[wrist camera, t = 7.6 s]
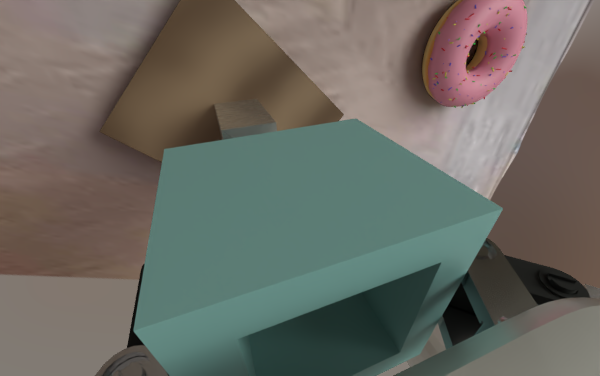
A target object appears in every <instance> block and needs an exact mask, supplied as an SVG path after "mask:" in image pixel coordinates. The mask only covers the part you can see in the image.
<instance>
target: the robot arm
mask: <svg viewBox="0 0 600 376" xmlns="http://www.w3.org/2000/svg"><path fill="white" fill-rule="evenodd" d="M144 265H145V264H144ZM144 265H143V266H142V269H141V273H140V279H139V284H138V290H137V295H136V301H135V307H134V313H133V318H132V324H131V329H130V334H129V340H128V345H127V348H126V349H124V350H122V351H120V352H119V353H117V354H115V355H114V356H113V357H111V358H110V359H109V360H108V361H107V362H106V363H105V364H104V365H103V366H102V367H101V369H100V370H99V371H98V372H97V374H96V375H95V376H169V374H168V373H167V372H166V371H165V369H164V368H163V367H162V366H161V365H160V363H159V362H158V361H157V360H156V358H155V357H154V356H153V355H152V353H151V352H150V351H149V350H148V349H147V347H146V346H145V345H144V344H143V342H142V341H141V340H140V339H139V337H138V336H137V335H136V334H135V333H134V331H133V330H134V324H135V318H136V312H137V306H138V300H139V295H140V289H141V283H142V277H143V271H144ZM407 363H408V364H409V366H410V368H408V369H406V370H404V371H402V372H400V373H398V374H396V375H394V376H600V289H599V288H596V287H592V286H589V285H586V284H585V285H584V286H583V285H582V284H581V283H580V282H579V281H577V280H576V279H574V278H573V277H571V276H570V275H568V274H566V273H564V272H562V271H560V270H557V269H554V268H550V267H547V266H543V265H539V264H536V263H531V262H528V261H524V260H521V259H516V258H513V257H509V256H506V255H503V253H502V252H501V250H500V249H499V248H498V247H497V246H496V244H495V243H493V242H492V241H491V240H489V239H488V238H486V239H485V241H484V243H483V245H482V246H481V248H480V250H479V252H478V253H477V255H476V257H475V259H474V260H473V262H472V264H471V266H470V267H469V269H468V271H467V273H466V274H465V276H464V278H463V280H462V281H461V283H460V285H459V287H458V288H457V290H456V292H455V294H454V295H453V297H452V299H451V301H450V302H449V304H448V306H447V308H446V309H445V311H444V313H443V315H442V316H441V318H440V320H439V322H438V323H437V325H436V327H435V329H434V330H433V332H432V334H431V336H430V337H429V339H428V341H427V343H426V345H425V346H424V348H423V350H422V352H421V353H420V354H419V355H417V356H415V357H413V358H411V359H409V360H407Z"/></svg>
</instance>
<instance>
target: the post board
mask: <svg viewBox="0 0 600 376" xmlns="http://www.w3.org/2000/svg"><path fill="white" fill-rule="evenodd" d="M343 115H344V114H343V113H342V112H341V111H340V110H339V109H338V108H337V107H336V106H335V105H334V104H333V103H332V102H331V101H330V99H329V98H328V97H327V96H326V95H325V94H324V93H323V92H322V91H321V90H320V89H319V88H318V87H317V86H316V85H315V84H314V83H313V82H312V81H311V80H310V79H309V78H308V76H307V75H306V74H305V73H304V72H303V71H302V70H301V69H300V68H299V67H298V66H297V65H296V64H295V63H294V62H293V61H292V60H291V59H290V58H289V57H288V56H287V55H286V54H285V52H284V51H283V50H282V49H281V48H280V47H279V46H278V45H277V44H276V43H275V42H274V41H273V40H272V39H271V38H270V37H269V36H268V35H267V34H266V33H265V32H264V31H263V29H262V28H261V27H260V26H259V25H258V24H257V23H256V22H255V21H254V20H253V19H252V18H251V17H250V16H249V15H248V14H247V13H246V12H245V11H244V10H243V9H242V8H241V6H240V5H239V4H238V3H237V2H236V1H235V0H180V2H179V3H178V5H177V6H176V8H175V10H174V11H173V13H172V15H171V16H170V18H169V19H168V21H167V23H166V24H165V26H164V28H163V29H162V31H161V32H160V34H159V36H158V37H157V39H156V41H155V42H154V44H153V45H152V47H151V49H150V50H149V52H148V54H147V55H146V57H145V58H144V60H143V62H142V63H141V65H140V67H139V68H138V70H137V72H136V73H135V75H134V76H133V78H132V80H131V81H130V83H129V85H128V86H127V88H126V89H125V91H124V93H123V94H122V96H121V98H120V99H119V101H118V102H117V104H116V106H115V107H114V109H113V111H112V112H111V114H110V115H109V117H108V119H107V120H106V122H105V124H104V125H103V127H102V128H101V130H100V132H101V133H103V134H105V135H107V136H109V137H111V138H113V139H115V140H117V141H119V142H121V143H123V144H125V145H127V146H129V147H131V148H133V149H135V150H137V151H140V152H142V153H144V154H146V155H148V156H150V157H152V158H154V159H156V160H158V161H160V162H162V160H163V154H164V149H168V148H174V147H181V146H187V145H193V144H200V143H206V142H212V141H218V140H225V139H231V138H237V137H243V136H250V135H256V134H262V133H269V132H275V131H281V130H287V129H294V128H300V127H306V126H312V125H319V124H325V123H331V122H337V121H339V120H340V119H341V118H342V116H343Z"/></svg>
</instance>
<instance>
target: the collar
mask: <svg viewBox="0 0 600 376" xmlns="http://www.w3.org/2000/svg"><path fill="white" fill-rule="evenodd" d="M502 210H503V208H501V207H500V206H498V205H497V204H495V203H493V202H492V201H490V200H488V199H487V198H485V197H483V196H482V195H480V194H479V193H477V192H475V191H474V190H472V189H470V188H469V187H467V186H465V185H464V184H462V183H461V182H459V181H457V180H456V179H454V178H452V177H451V176H449V175H447V174H446V173H444V172H443V171H441V170H439V169H438V168H436V167H434V166H433V165H431V164H429V163H428V162H426V161H425V160H423V159H421V158H420V157H418V156H416V155H415V154H413V153H412V152H410V151H408V150H407V149H405V148H403V147H402V146H400V145H398V144H397V143H395V142H394V141H392V140H390V139H389V138H387V137H385V136H384V135H382V134H380V133H379V132H377V131H376V130H374V129H372V128H371V127H369V126H367V125H366V124H364V123H362V122H361V121H359V120H358V119H350V120H344V121H337V122H331V123H325V124H319V125H312V126H306V127H300V128H294V129H287V130H281V131H275V132H269V133H262V134H256V135H250V136H243V137H237V138H231V139H225V140H218V141H212V142H206V143H200V144H193V145H187V146H181V147H174V148H168V149H164V154H163V160H162V166H161V171H160V177H159V183H158V189H157V195H156V201H155V207H154V212H153V218H152V224H151V230H150V236H149V242H148V248H147V253H146V259H145V265H144V271H143V277H142V283H141V289H140V295H139V300H138V306H137V312H136V318H135V324H134V330H133V331H134V333H135V334H136V335H137V336H138V337H139V339H140V340H141V341H142V342H143V344H144V345H145V346H146V347H147V349H148V350H149V351H150V352H151V353H152V355H153V356H154V357H155V358H156V360H157V361H158V362H159V363H160V365H161V366H162V367H163V368H164V369H165V371H166V372H167V373H168V374H169V376H377V375H379V374H381V373H383V372H385V371H387V370H389V369H391V368H393V367H395V366H397V365H399V364H401V363H403V362H405V361H407V360H409V359H411V358H413V357H415V356H417V355H419V354H420V353H421V352H422V350H423V348H424V346H425V345H426V343H427V341H428V339H429V337H430V336H431V334H432V332H433V330H434V329H435V327H436V325H437V323H438V322H439V320H440V318H441V316H442V315H443V313H444V311H445V309H446V308H447V306H448V304H449V302H450V301H451V299H452V297H453V295H454V294H455V292H456V290H457V288H458V287H459V285H460V283H461V281H462V280H463V278H464V276H465V274H466V273H467V271H468V269H469V267H470V266H471V264H472V262H473V260H474V259H475V257H476V255H477V253H478V252H479V250H480V248H481V246H482V245H483V243H484V241H485V239H486V238H487V236H488V234H489V232H490V231H491V229H492V227H493V225H494V224H495V222H496V220H497V218H498V216H499V215H500V213H501V211H502Z"/></svg>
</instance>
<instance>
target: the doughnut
mask: <svg viewBox="0 0 600 376" xmlns="http://www.w3.org/2000/svg"><path fill="white" fill-rule="evenodd" d="M526 30H527V11H526V6H525V4H524V2H523V0H458V1H456V2H455V3H454V4H453V5H452V6H451V7H450V8H449V9H448V10H447V11H446V12H445V13H444V15H443V16H442V17H441V19H440V20H439V22H438V23H437V25H436V26H435V28H434V30H433V32H432V34H431V36H430V38H429V40H428V43H427V46H426V49H425V53H424V57H423V64H422V75H423V81H424V85H425V88H426V90H427V92H428V93H429V95H430V96H431V97H432V98H433V99H435V100H436V101H437V102H439V103H440V104H441V105H444V106H448V107H458V106H462V108H463V106H466V105H467V106H468V105H469V104H475V103H474V102H477V101H479V100H480V99H482V98H484V99H485V96H487V95H488V94H489V93H490V92H492V91H493V90H494V89H495V88H496V87H497V86H498V85H499V84H500V83H501V82H502V81H503V79H504V78H505V77H506V76H507V74H508V73H509V72H512V71H510V70H511V68H512V67H513V65H514V63H515V62H516V60H517V58H518V56H519V54H520V51H521V49H522V48H524V47H523V43H524V39H525V35H527V33H526ZM478 38H479V39H478ZM476 39H477V40H478V47H477V50H476V53H475V55H474V57H473V59H472V60H471V62H470V63H469V65H468V66H467V67H466V60H467V57H469V51H470V48H471V46H472V45H473V44H474V45H475V44H476V43H474V42H475V40H476Z"/></svg>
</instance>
